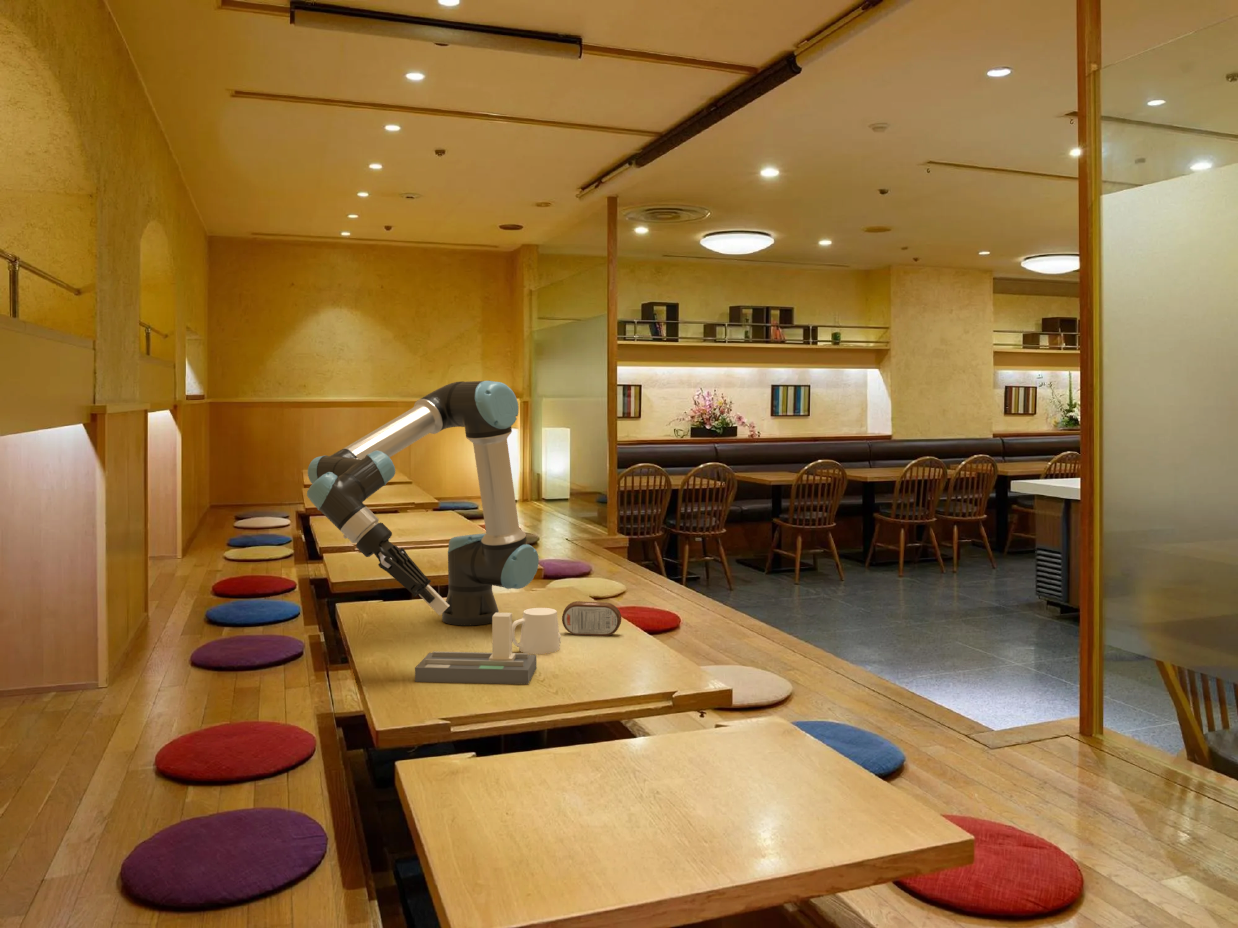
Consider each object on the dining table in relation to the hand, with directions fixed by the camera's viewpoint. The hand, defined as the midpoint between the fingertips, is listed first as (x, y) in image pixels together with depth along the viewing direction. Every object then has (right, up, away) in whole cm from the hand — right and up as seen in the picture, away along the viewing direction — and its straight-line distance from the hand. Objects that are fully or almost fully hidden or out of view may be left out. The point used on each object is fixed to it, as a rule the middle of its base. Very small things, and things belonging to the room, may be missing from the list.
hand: (444, 610), depth 205 cm
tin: (+31, -12, +36) cm, 49 cm away
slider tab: (+12, -11, 0) cm, 16 cm away
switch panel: (+7, -14, 0) cm, 16 cm away
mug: (+18, -13, +21) cm, 30 cm away
